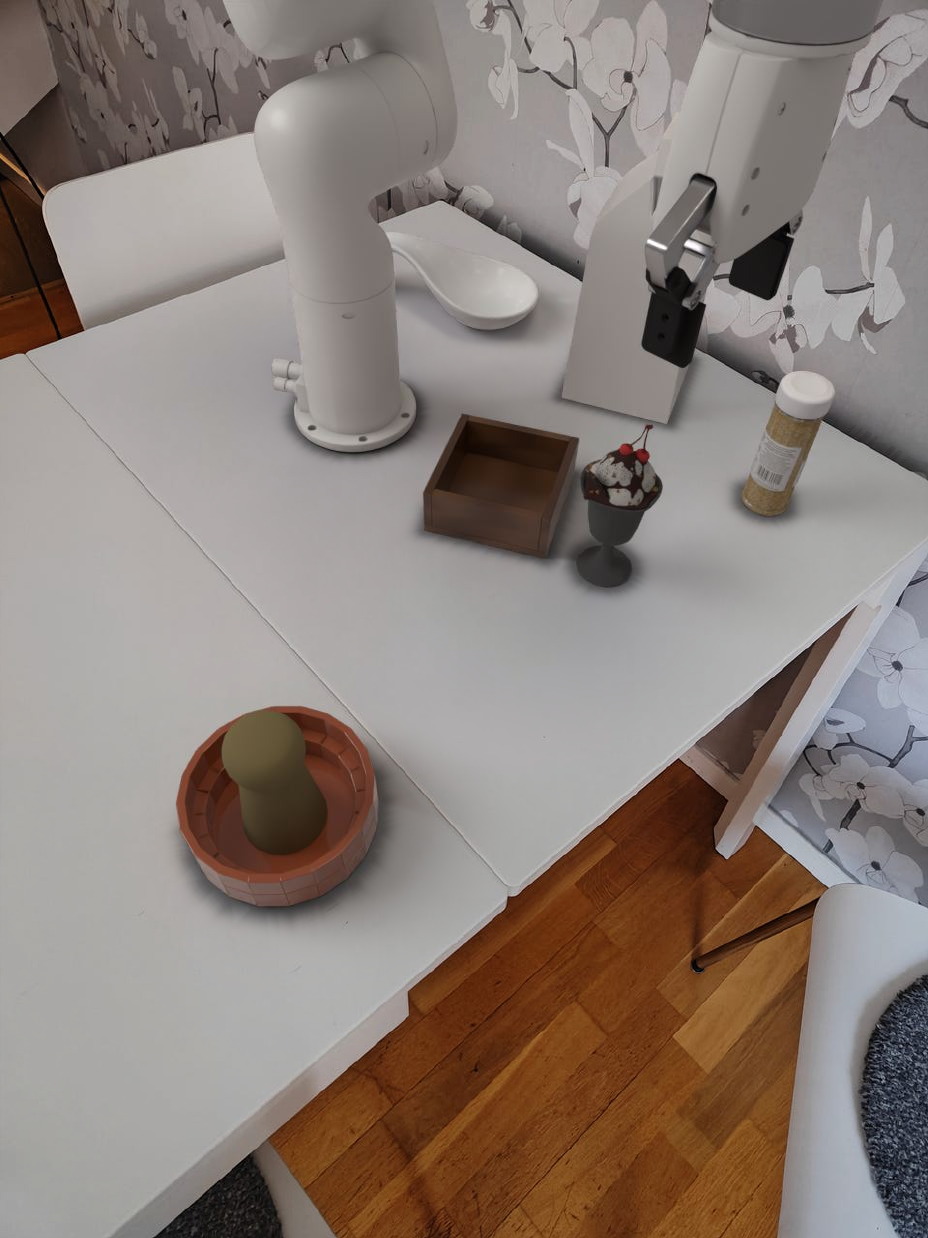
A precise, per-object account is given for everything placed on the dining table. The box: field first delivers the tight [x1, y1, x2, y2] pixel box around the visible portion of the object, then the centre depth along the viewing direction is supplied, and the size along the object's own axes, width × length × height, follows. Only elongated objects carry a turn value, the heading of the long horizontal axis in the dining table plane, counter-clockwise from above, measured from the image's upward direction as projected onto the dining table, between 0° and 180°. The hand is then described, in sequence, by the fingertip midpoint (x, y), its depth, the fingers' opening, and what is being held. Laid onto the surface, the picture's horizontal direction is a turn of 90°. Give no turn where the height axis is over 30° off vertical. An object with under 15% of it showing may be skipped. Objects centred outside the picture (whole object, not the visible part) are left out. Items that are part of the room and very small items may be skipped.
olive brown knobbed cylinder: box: [222, 710, 328, 855], centre depth 58 cm, size 6×6×11 cm
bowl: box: [175, 705, 379, 907], centre depth 61 cm, size 13×13×4 cm
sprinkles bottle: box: [741, 370, 836, 517], centre depth 78 cm, size 5×5×14 cm
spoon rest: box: [384, 231, 540, 331], centre depth 101 cm, size 24×12×7 cm, turn 70°
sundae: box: [575, 424, 664, 587], centre depth 72 cm, size 7×7×15 cm
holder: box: [422, 413, 580, 559], centre depth 81 cm, size 12×12×5 cm
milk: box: [561, 111, 715, 425], centre depth 85 cm, size 12×12×26 cm
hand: (709, 322), depth 54 cm, fingers open, 9 cm apart
